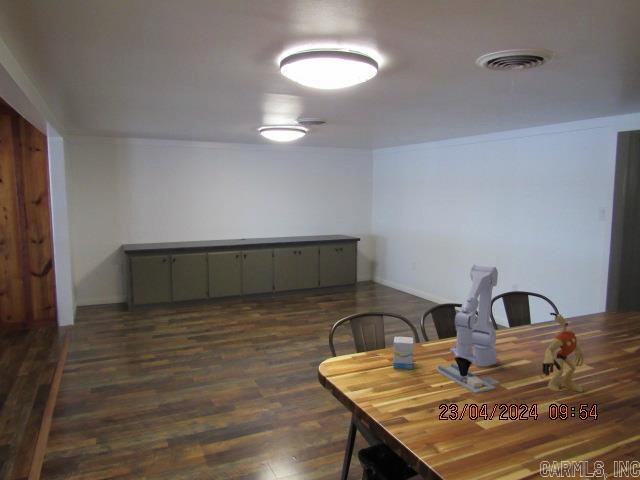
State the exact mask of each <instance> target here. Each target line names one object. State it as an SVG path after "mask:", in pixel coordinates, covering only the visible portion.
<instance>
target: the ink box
mask: <svg viewBox="0 0 640 480" xmlns="http://www.w3.org/2000/svg"><path fill="white" fill-rule="evenodd" d="M392 354H393V358H392V364H393V365H392V367H393V369H399V370H400V369H401V370H414V337H411V336H409V337H408V336H394V339H393V353H392Z"/></svg>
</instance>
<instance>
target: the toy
mask: <svg viewBox="0 0 640 480" xmlns="http://www.w3.org/2000/svg"><path fill="white" fill-rule="evenodd" d="M549 314H550V316H554V320H555V321H556V322H557V323H558V324H559V326H561V329H562V331H561V332H560V333H558V335H556V336H555V338H553V340H552V341H551V343H550V344H549V345H548V347H547V349H546V350H545V354H544V359H543V363H542V374H544V375H545V377H547V376H550V373H551V374H552V373H554V366H555V368H556V370H557V372H556V373H555V374H553V376H552V377H551V379H550V380H549V382H548V384H547V387H548V389H550V390H552V391H555V392H559V391H560V387H559V382H560V380H561V378H562V376H563V374H564V362H565V364H567V366H569V367H570V368H569V369H568V370H567V371H566V372H565V374H564V376H563V378H562V380H561V387H564V388H566V389H569V390H572V391H575V392H579V393H582V392H584V391H583V390H584V389H583V388H582V387H581V386H579V384H577V383H575V382H574V381H573V376H574V374H575V373H574V372H575V371H576V370H577V368H576V367H583V364H584V358H585V357H586V354H585V353H584V352H583V350H582V349H581V347H580V346H579V344H578V337H577V336H576V334H575V332H574V331H572V330H567V326H569V325H568V324H569V322H566V320H565V318H564V317H563V316H562V314H560V313H558V314H557V313H555V312H549ZM559 348H560V350H558V351H557V349H559ZM556 351H557V353H556V356H555V352H556ZM573 352H574V356H575V357H574V358H573V360H572V361H571V360H570V358H569V357H568V356H570V355H571V354H572V353H573ZM554 356H555V357H556V360H557V361H556V360H555V357H554ZM559 396H560V395H558V397H559Z"/></svg>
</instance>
